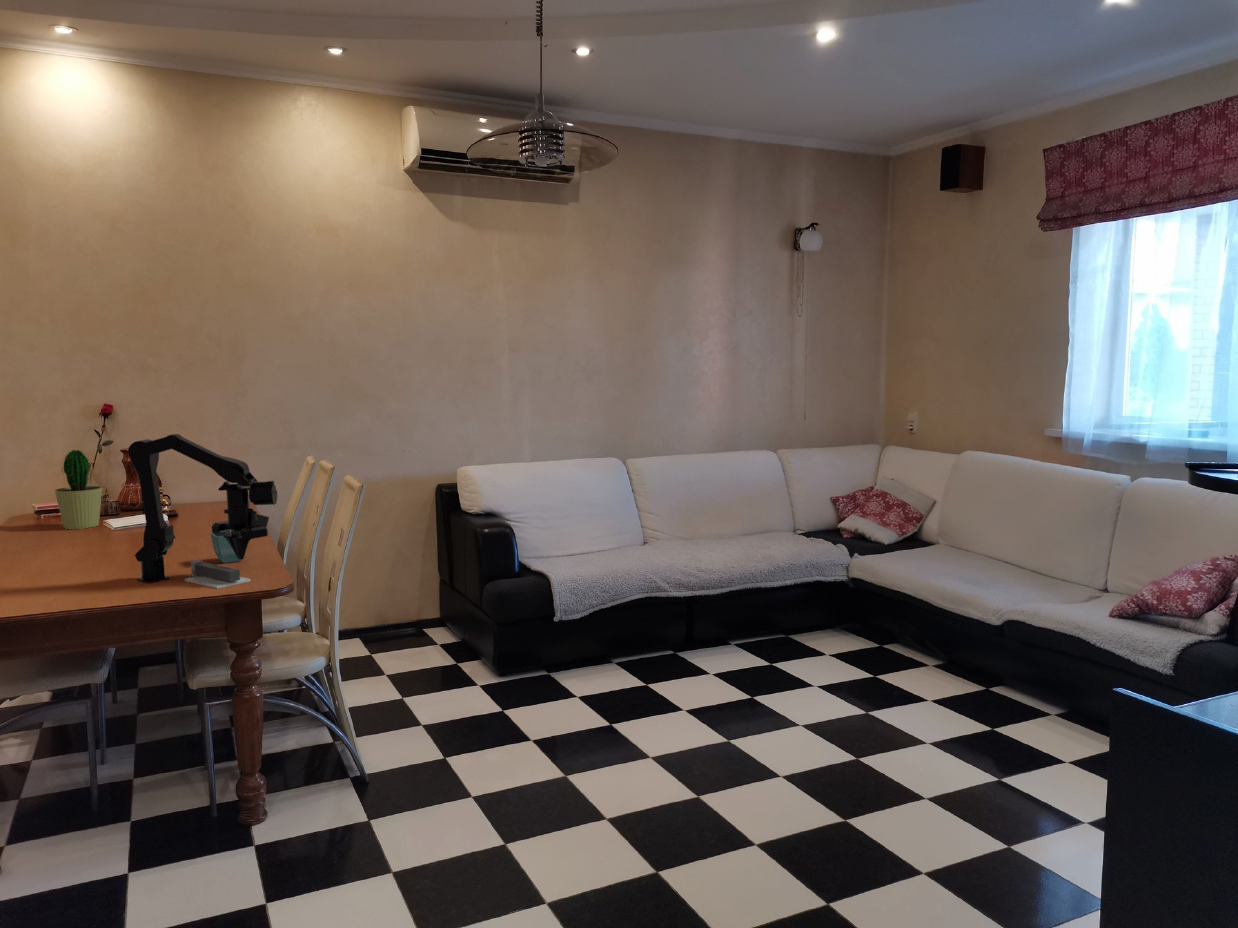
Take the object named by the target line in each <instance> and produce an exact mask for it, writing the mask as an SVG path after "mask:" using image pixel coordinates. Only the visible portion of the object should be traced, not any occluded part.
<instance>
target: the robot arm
mask: <svg viewBox="0 0 1238 928" xmlns="http://www.w3.org/2000/svg"><path fill="white" fill-rule="evenodd" d="M169 450H173V451H176V452H177V453H180V454H181V455H184V456H186V457H188V458H189V459H192V460H194V461H196V462H198V463H200V464H202V465H204V466H206V467H209V468H210V469H211V470H212V471H214V472H215V473H216V474H217V475H218V476H220V477H221V478H222V479H224V480H225V481H224V482H223V484H221V486H219V487H218V489H217V490H218V491H219V492H220V491H222V492H223V491H226V506H227V507H226V509H223V511H224V514H227V520H223V521H217V522H214V523H213V524H212V525H211V533H217V534H218V533H219V532H220V531H226V535H225V536H224V538H226V540H227V541H228V543H229V544H230V546H231V547H232V549H233V551H234V552H235V554H236V556H237V558H238V559H239V560H241V561H242V560H244V559H245V555H246V551H247V549H248V545H249V542H250V541H251V540H253V539H258V538H265V537H268V535H269V531H268V528H267V526H268V523H269V519H270V516H266V515H263V514H258V511H256V510H254V509H253V508H252V507H250V503H252V504H253V505H254V506H264V505H265V506H269V505H270V506H272V505H273V506H274V505H276V504H277V501H278V490H277V486H276V484H275V480H268V481H258V480H257V478H256V477H255V476H254V475H253V474H252V472H251V471H250V468H249V464H248V463H246V462H245V461H243V460H239V459H236V458H233V457H228V456H225V455H224V456H223V455H220V454H219V453H217V452H214V451H211V450H210V449H208V448H205V447H204V446H202V445H200V444H197V443H196V442H193V441H192V440H190V439H188V438H185V437H184V436H182V435H181V434H179V433H174V434H173V433H172V434H169V435H167V436H164V437H161V438H157V439H154V440H152V439H142V440H138V441H134V442H133V443H131V444H130V445H129V446H128V449H127V453H128V456H129V459H130V462H131V465H132V466H133V467H134V470H135V471H136V473H137V475H138V481H139V486H140V495H141V499H142V504H143V510H144V512H143V513H144V518H145V525H144V526H145V527H144V532H143V546H142V547H141V548H140V549H139V550H138V551H137V552H136V553H135V554H134V556H135V559H136V561H137V562H139V563H140V566H141V567H140V568H141V577H137V578H136V581H139V582H143V583H149V584H150V583H154V582H159V581H164V580H165V581H166V580H169V579H171V576H170V575H165V574H166V573H165V572H166V571H165V562H164V560H165V559H164V556H166V555H167V553H168V551H169V549H171V547H172V546H173V545H174V539H175V540H176V536H175V534H174V533H175V532H174V525H173V524H169V525H168V524H167V522H166V521H165V518H164V517H165V516H164V511H163V507H162V506H163V505H162V499H161V492H160V487H159V481H158V480H159V479H158V473H157V469H158V464H159V461H160V453H162V452H166V451H169Z"/></svg>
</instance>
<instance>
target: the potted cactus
mask: <svg viewBox="0 0 1238 928" xmlns="http://www.w3.org/2000/svg"><path fill="white" fill-rule="evenodd" d="M83 451H84V450H78V449H73V450H71V451H68V453H66V455H65V454H63V455H64V457H62V459H63V460H62V461H61V462H62V463H63V464H62V465H61V470H60V471H63V474H65V477H66V482H65V484H66V483H67V485H68V487H61V488H56V489H55V490H54V492H55V497H56V502H57V505H58V509H59V513H60V518H61V521H62V526H63V529H64V528H65V529H64V530H66V529H80V530H84V529H83V528H88V527H95V526H98V525H100V515H101V503H102V502H101V501H102V493H103V490H102V489H103V486H100V485H88V484H89V482H88V480H90V477H89V476H90V470H91V467H92V464H91V463H93V462H91V463H89V460H88V458H87V456H86V455H87V454H85V452H83ZM98 527H99V526H98ZM95 528H96V527H95Z"/></svg>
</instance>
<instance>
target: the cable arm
mask: <svg viewBox="0 0 1238 928" xmlns="http://www.w3.org/2000/svg"><path fill="white" fill-rule="evenodd" d="M190 568H191V570H190V571H191V574H197V575H201V576H206V577H210V578H215V579H219V580H224V581H228V582H232V581H237V580H240V577H241V575H240V569H236V568H233V567H228V566H222V565H218V564H214V563H208V562H203V560H199V559H198V560H192V561H191V562H190Z"/></svg>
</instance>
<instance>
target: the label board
mask: <svg viewBox="0 0 1238 928" xmlns="http://www.w3.org/2000/svg"><path fill="white" fill-rule="evenodd" d="M191 575H192V577H191V576H190V577H187V578H184V582H187V583H193V584H196V585H199V586H200V585H201V586H204V587H209V588H214V589H217V590H218V589H222V588H227V587H230V586H236V585H240V584H244V583H248V582H251V578H247V577H244V576H243V577H242V576H240V580H237V581H232V582H228V581H224V580H219V579H215V578H210V577H206V576H201V575H197V574H193V573H191Z"/></svg>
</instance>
